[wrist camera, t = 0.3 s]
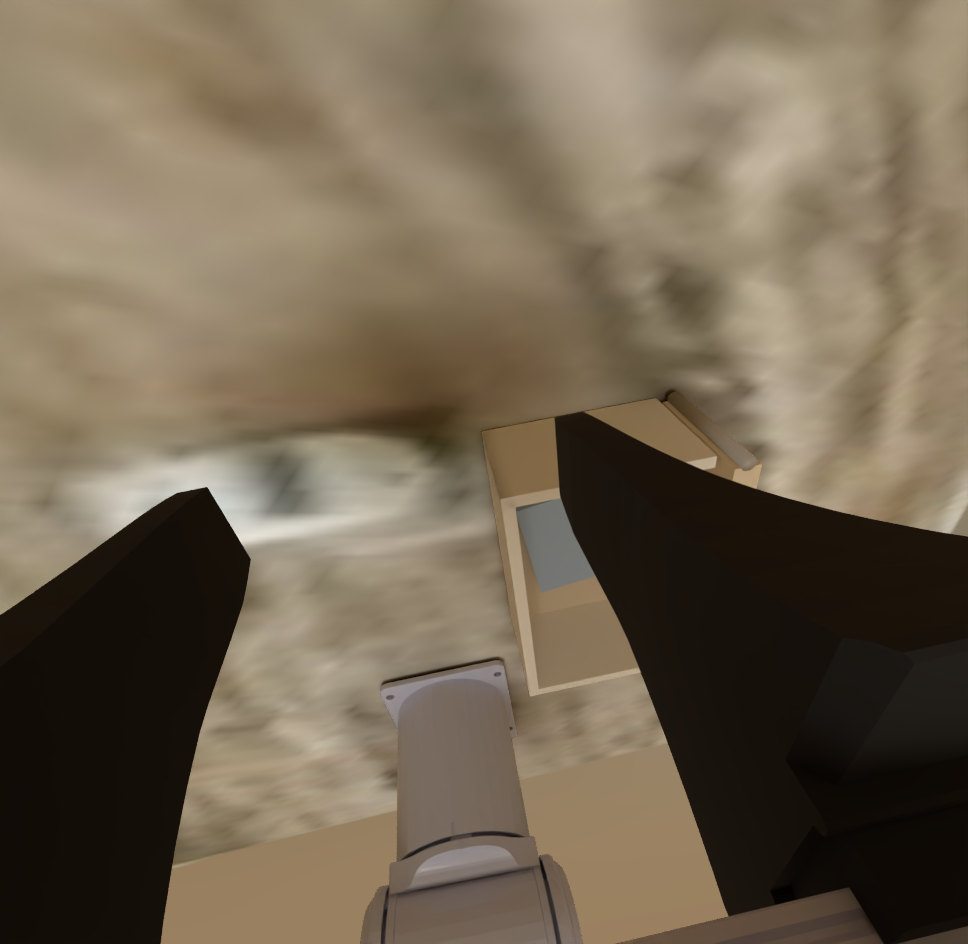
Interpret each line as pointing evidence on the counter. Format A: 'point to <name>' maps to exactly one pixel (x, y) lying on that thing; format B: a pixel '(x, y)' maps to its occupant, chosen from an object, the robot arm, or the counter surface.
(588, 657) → the carton
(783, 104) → the counter surface
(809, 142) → the counter surface
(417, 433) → the counter surface
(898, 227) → the counter surface
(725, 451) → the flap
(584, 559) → the booklet
